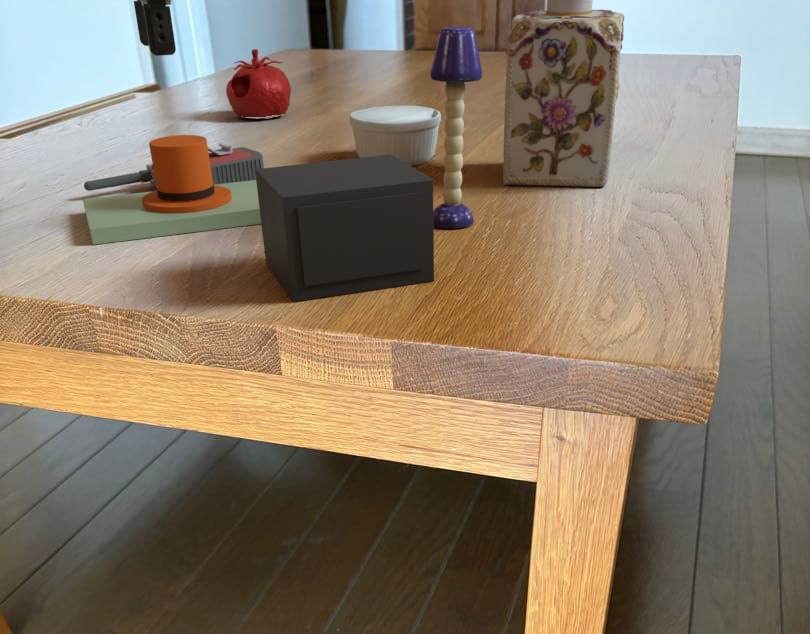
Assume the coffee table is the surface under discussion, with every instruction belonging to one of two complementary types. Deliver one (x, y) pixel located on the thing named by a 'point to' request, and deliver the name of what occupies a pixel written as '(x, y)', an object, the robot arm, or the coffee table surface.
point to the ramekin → (396, 132)
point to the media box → (346, 225)
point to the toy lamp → (454, 116)
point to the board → (167, 216)
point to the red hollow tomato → (258, 89)
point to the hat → (183, 176)
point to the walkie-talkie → (223, 165)
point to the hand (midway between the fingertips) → (158, 49)
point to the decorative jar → (561, 95)
